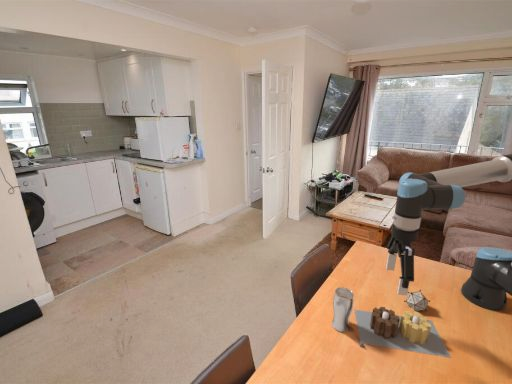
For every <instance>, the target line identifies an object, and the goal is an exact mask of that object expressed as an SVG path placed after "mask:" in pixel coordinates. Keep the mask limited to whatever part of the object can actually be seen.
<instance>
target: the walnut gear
mask: <svg viewBox="0 0 512 384" xmlns="http://www.w3.org/2000/svg"><path fill="white" fill-rule="evenodd" d="M371 312H372V315H371V321H370V328H371V329H374V333H375V334H376V335H377V336H379V335H381V336H383V337H384V339H389V337H392V338H395V337H396V336H397V331H398V326H399V321H400V318H399V316H400V315H397V316H396V313H395V312H396V311H394V310H392V309H387V308H386V307H385V306H380V307H379V308H377V307H376V306H375V307H374V308H373V309H372V311H371ZM383 312H388V313H389V318H388V320H384V319H383V318H382V315H383Z"/></svg>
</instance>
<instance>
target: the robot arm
mask: <svg viewBox="0 0 512 384" xmlns="http://www.w3.org/2000/svg"><path fill="white" fill-rule="evenodd" d="M493 182H500V183H508V182H512V153H509V154H504V155H500V156H495V157H494V158H493V159H491V160H488V161H487V160H486V161H482V162H481V161H480V162H477V163H473V164H472V163H471V164H467V165H462V166H457V167H451V168H446V169H441V170H436V171H430V172H425V173H424V172H423V173H420V174H419V173H416V172H409V171H408V172H406V173H404V174H403V175H402V176H401V177H400V178H399V181H398V189H397V193H396V194H397V195H396V203H395V207H394V208H395V209H394V215H393V216H392V219H393V220H392V221H393V222H392V225H391V232H390V234H391V237H390V239H389V241H388V244H387V246H386V249H387V250H388V251H387V252H388V253H387V261H386V265H385V269H386V271H395V269H396V262H397V256H398V258H400V259H399V261H400V269H401V270H400V272H401V273H400V274H401V276H399V282H398V287H397V292H396V293H397V295H399V296H400V295H401V296H408V292H409V287H410V282H415V252H416V250H415V249H413V248H412V245H411V243H413V242H416V241H417V240H418V234H419V228H420V226H421V222H422V217H423V211H424V210H426V211H427V210H451V209H458V208H461V207H462V206H463V205H464V204H465V200H466V193H465V190H464V188H465V187H470V186H476V185H481V184H487V183H493ZM460 292H461V295H463V297H464V298H465V299H467V300H468V301H469V302H471V303H472V304H474V305H476V306H478V307H481V308H483V309H487V310H491V311H502V310H505V309H506V308H507V305H508V296H507V294H508V295H510V296H511V297H512V251H509V250H506V249H502V248H499V247H498V248H497V247H491V246H486V247H481V248H480V249H478V251H477V253H476V255H475V258H474V261H473V266H472V270H471V274H470V276H469V277H468V278H467V279H466V281H465V282H463V283H462V286H461V289H460Z"/></svg>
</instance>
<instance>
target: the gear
mask: <svg viewBox="0 0 512 384" xmlns="http://www.w3.org/2000/svg"><path fill="white" fill-rule="evenodd" d="M400 316H401V320H400V325H399V330H401V332H400V334H401V335H402V336H403V337H407V338H408V339H409V341H410V342H412V343H414V342H419V343H420V344H425V340H428V336H429V333H430V329H431V324H429V323H428V321H429V320H430V319H428V317H426V316H422V315H421V314H420V312H418V311H416V310H414V312H413V311H410V310H404V312H403V313H401V315H400ZM413 316H418V317H419V318H420V320H419V324H418V325H417V324H415V323H412V320H413Z"/></svg>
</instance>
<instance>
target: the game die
mask: <svg viewBox="0 0 512 384" xmlns="http://www.w3.org/2000/svg"><path fill="white" fill-rule="evenodd" d="M421 291H422V289H421V288H420V289H419V291H418V290H417V291H414V292H409V291H408V292H407V297H406V299H405V300H403V302H404V303H406V304H407V305H408V306H409V307H410V309H412V310H414V311H416V312H418V311H420V312H421V311H425V312H428V309H427V307H428V304H429V302H431V300H429V299H428V298H427V297H426V296H425V295H424V294H423V293H422V292H421Z"/></svg>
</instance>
